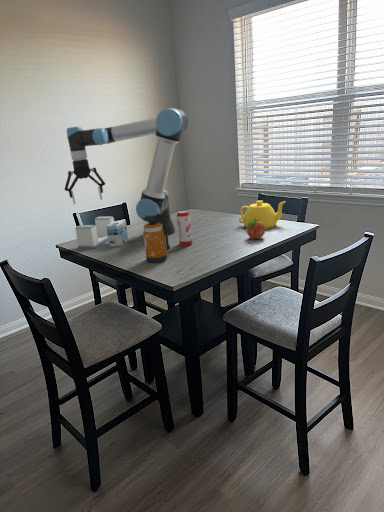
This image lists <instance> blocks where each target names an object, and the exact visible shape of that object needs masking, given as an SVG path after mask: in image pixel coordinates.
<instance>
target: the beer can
mask: <svg viewBox="0 0 384 512" xmlns="http://www.w3.org/2000/svg"><path fill="white" fill-rule="evenodd" d="M176 221H177V222H176V223H177V231H178V233H177V234H178V243H179V245H180V246H182V247H187V246H191V245H192V243H193V234H192V225H191V214H190V212H189V210H179V211H177V214H176Z"/></svg>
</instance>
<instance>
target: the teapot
mask: <svg viewBox="0 0 384 512" xmlns="http://www.w3.org/2000/svg"><path fill="white" fill-rule="evenodd" d="M286 202H287V201H286V200H284V201H281V202H279V204H278V205H277V207H278V208H277V211H276V212H275V210H274V208H273V207H272V206H271V204H269V203H267V202H264V200H256V202H255V203H252V204H249V206H248V205H243V206H241V208H240V209H239V213H240V216H241V217H239V218H238V221H239V223H240V224H243V226H244V227H245V228H247V226H248V224H249V222H251V221H254V220H255V218H256V220H260V221H261V222H262V223H263V224H264V226H265V230H269V229H273V228H274V227H275V226H276V224H277V222H278V221H279V220H281V217H282V212H283V211H282V210H283V205H284V204H285V203H286ZM243 209H246V210H245V213H243Z"/></svg>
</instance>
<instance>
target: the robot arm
mask: <svg viewBox="0 0 384 512" xmlns="http://www.w3.org/2000/svg"><path fill="white" fill-rule="evenodd" d="M188 124H189V118H188V116H187V114H186V113H185V111H183V110H182V109H180V108H174V107H168V108H167V107H166V108H164V109H162V110H160V112H159V113H158V114H157V115H156V117H153V118H149V119H143V120H139V121H134V122H129V123H122V124H119V125H114V126H110V127H105V128H102V127H97V128H93V129H92V128H91V129H85V130H84V129H83V128H82V126H70V127H67V128H66V135H67V136H66V138H67V141H68V144H69V145H68V146H69V151H70V156H71V160H72V165H73V170H71V171H70V170H68V171H67V178H66V182H65V185H64V191H65V192H68V195H69V198H71V199H72V202H73V205H76V199H75V194H74V191H73V189H74V187H75V185H76V183H77V182H78V180H79V179H80V180H82V179H87V178H89V179H90V180H91V181H93V182H94V183H95V184H96V185H98V186H97V188H98V189H97V190H98V195H99V200H100V201H101V200H103V196H102V194H103V193H104V189H103V186H105V185H106V183H105V181H104V180H103V178H102V176H101V175H100V174H99V173H98V171H97V168H96V167H92V168H90V165H89V160H88V159H87V158H88V153H87V149H86V147H91V146H102V145H108V144H114V143H116V142H117V143H118V142H122V141H126V140H133V139H137V138H143V137H148V136H153V135H155V137H156V139H157V141H156V145H155V150H154V154H153V157H152V163H151V167H150V171H149V174H148V180H147V183H146V187H145V188H144V189H143V190H142V191H141V194H140V195H141V196H140V200H139V201H138V202H137V204H136V207H135V212H136V214H137V216H138V217H139V219H141V220H142V221H144V220H143V218H144V217H145V216H146V215H148V216H149V215H156V214H160V215H162V216H164V217H166V218H168V221H167V230H168V231H167V233H168V235H171V234H174V233H175V232H176V227H175V224H174V223H173V220H172V217H171V209H170V201H169V192H168V191H167V190H165V186H166V183H167V180H168V174H169V171H170V167H171V163H172V160H173V155H174V151H175V147H176V145H177V144H179V143H180V141H181V136H182V133H183V132H184V131H185V130H186V129H187V127H188ZM91 172H92V173H94V175H95V176H96V177H97V178H98V180H99V181H100V182H99V181H98V180H97V179H96V178H94V177H93V176H92V175H91ZM73 174H74V175H75V178H74V179H73V181H72V183H71V185H69V184H70V181H71V177H72V176H73ZM160 219H161V218H160ZM161 220H163V219H161ZM163 221H165V220H163ZM144 222H146V220H145V221H144ZM162 228H163V230H164V225H163V224H162ZM164 234H165V230H164Z"/></svg>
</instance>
